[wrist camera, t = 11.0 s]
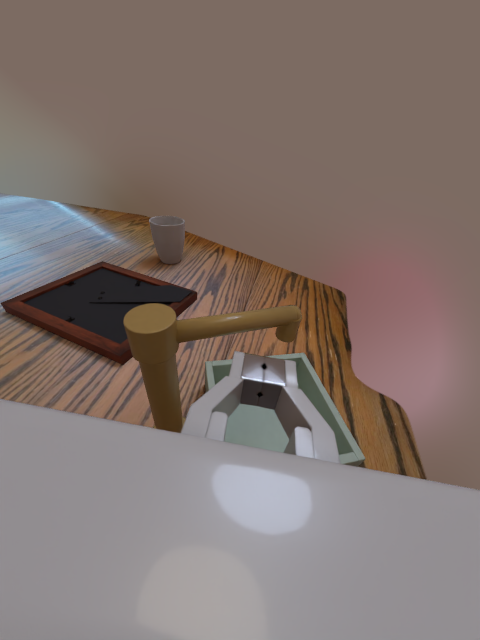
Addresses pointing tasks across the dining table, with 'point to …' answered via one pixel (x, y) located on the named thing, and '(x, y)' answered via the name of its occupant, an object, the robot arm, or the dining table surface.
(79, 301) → the picture frame
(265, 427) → the sink
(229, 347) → the dining table surface
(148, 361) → the spout
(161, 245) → the cup
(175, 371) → the faucet base
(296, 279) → the dining table surface
